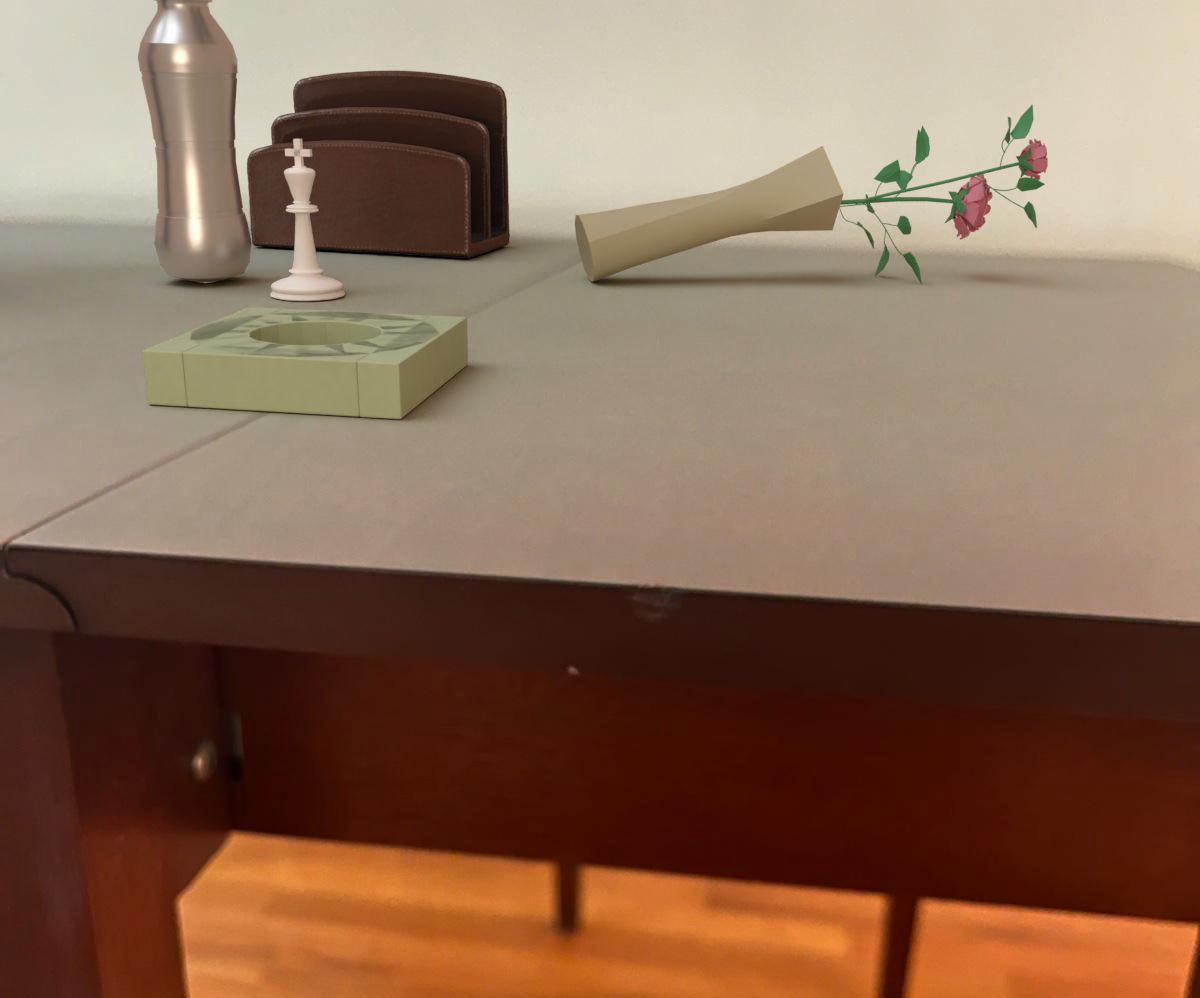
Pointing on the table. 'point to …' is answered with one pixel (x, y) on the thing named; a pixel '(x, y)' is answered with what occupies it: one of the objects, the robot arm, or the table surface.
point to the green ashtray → (308, 362)
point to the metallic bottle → (194, 143)
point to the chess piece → (304, 239)
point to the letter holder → (389, 165)
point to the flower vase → (785, 208)
